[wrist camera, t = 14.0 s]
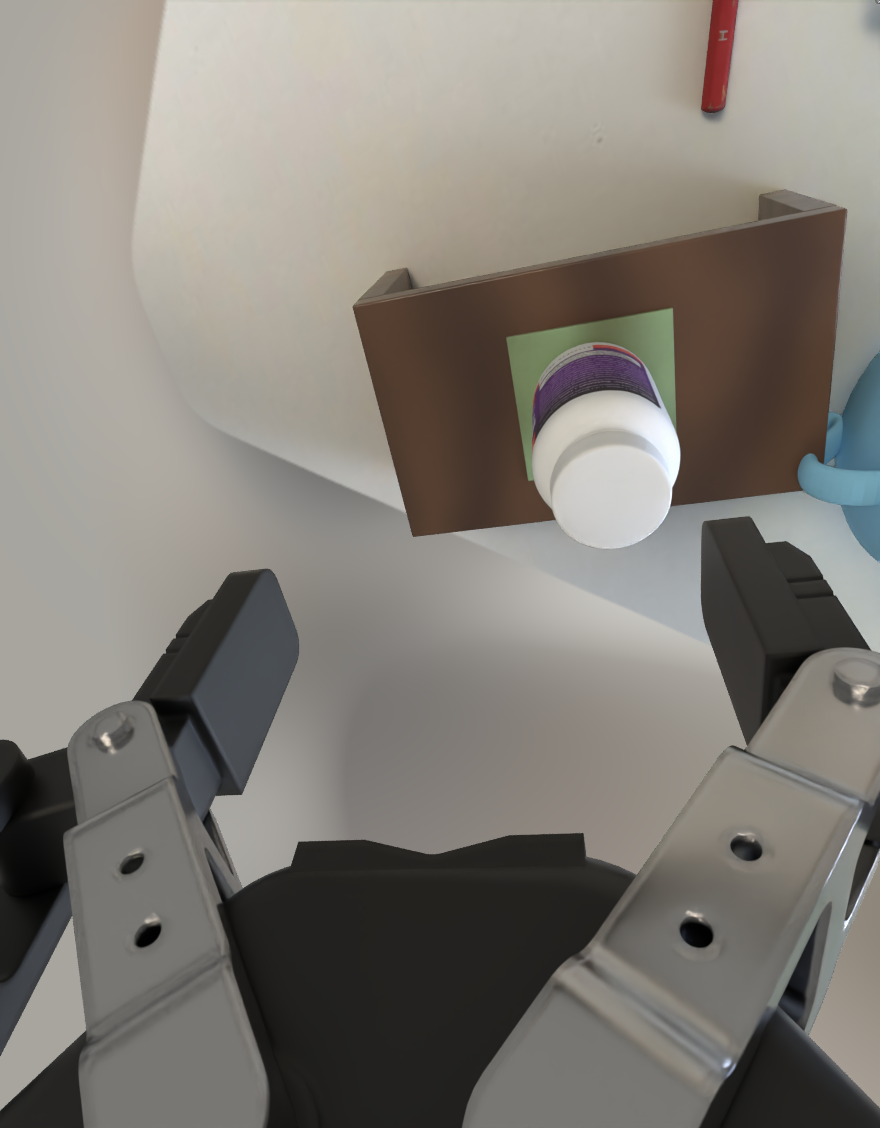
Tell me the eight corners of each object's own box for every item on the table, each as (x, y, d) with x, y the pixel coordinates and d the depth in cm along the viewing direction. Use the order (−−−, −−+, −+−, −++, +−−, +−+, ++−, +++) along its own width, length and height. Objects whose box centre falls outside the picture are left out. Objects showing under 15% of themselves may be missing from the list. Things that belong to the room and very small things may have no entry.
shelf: (432, 472, 43) (412, 539, 36) (385, 271, 37) (350, 306, 30) (774, 425, 39) (823, 490, 32) (785, 189, 33) (850, 208, 26)
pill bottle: (508, 390, 31) (497, 485, 23) (610, 312, 29) (637, 388, 21) (577, 476, 33) (589, 592, 25) (678, 409, 31) (726, 513, 23)
